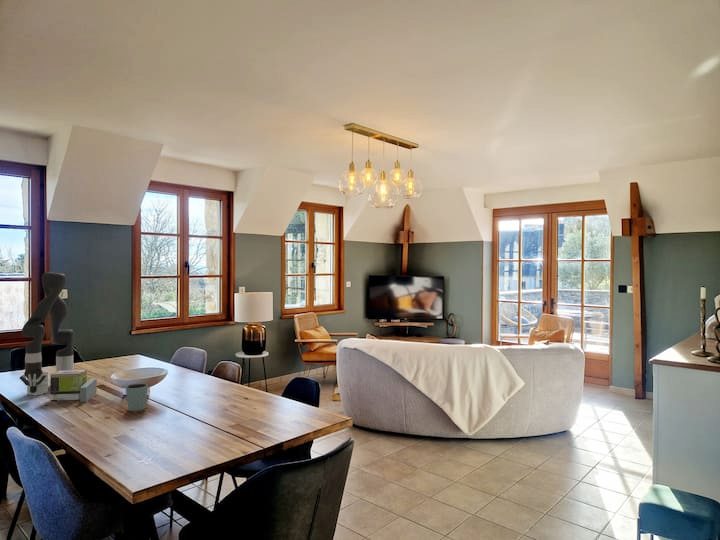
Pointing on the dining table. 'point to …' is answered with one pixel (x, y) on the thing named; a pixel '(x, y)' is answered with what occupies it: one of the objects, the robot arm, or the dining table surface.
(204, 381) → the dining table surface
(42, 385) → the supplement box
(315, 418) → the dining table surface
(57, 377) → the tea box
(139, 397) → the grey green open cylinder
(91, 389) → the stop board
